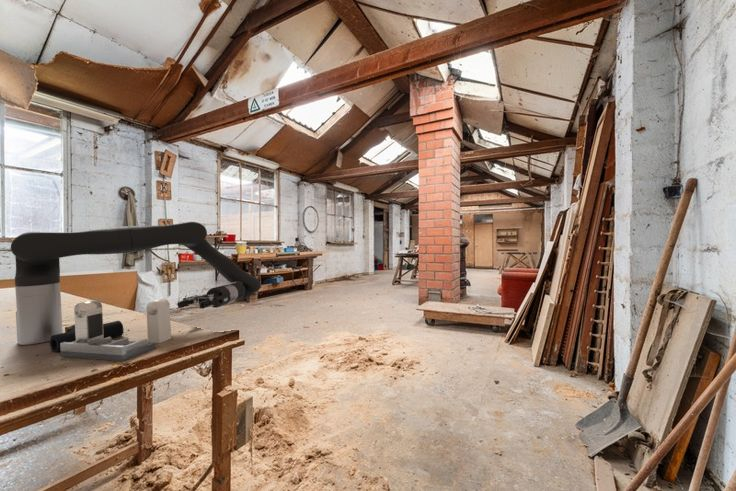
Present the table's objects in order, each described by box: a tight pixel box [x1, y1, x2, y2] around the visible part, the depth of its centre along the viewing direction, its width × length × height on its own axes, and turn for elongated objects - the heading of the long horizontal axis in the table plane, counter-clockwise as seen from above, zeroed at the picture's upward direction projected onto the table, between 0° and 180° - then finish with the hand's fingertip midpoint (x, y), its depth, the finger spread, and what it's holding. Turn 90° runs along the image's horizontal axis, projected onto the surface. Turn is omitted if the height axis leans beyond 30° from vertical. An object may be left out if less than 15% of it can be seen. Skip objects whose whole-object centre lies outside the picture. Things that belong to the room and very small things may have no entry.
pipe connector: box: [49, 320, 125, 354], centre depth 89 cm, size 12×5×15 cm
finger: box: [145, 298, 172, 344], centre depth 89 cm, size 4×4×12 cm
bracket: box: [60, 299, 156, 362], centre depth 80 cm, size 20×9×14 cm, turn 78°
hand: (189, 305), depth 100 cm, fingers open, 8 cm apart
